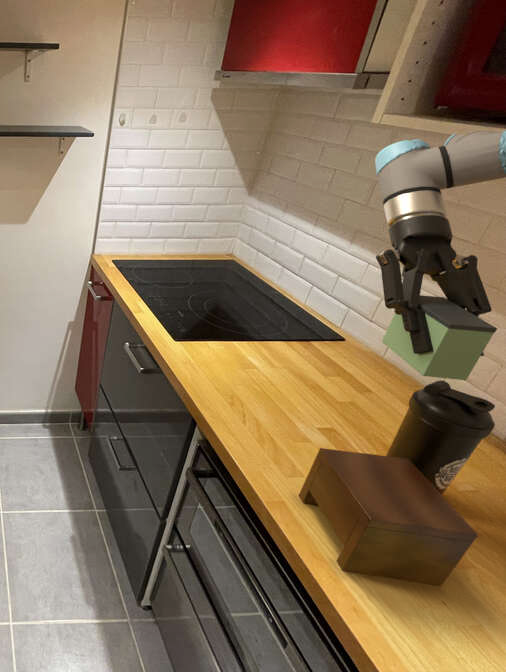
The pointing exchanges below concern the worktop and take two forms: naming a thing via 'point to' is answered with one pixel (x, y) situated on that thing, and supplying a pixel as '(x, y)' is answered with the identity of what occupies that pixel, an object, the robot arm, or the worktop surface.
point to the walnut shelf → (387, 516)
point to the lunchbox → (442, 339)
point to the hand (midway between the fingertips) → (448, 354)
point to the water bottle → (441, 431)
